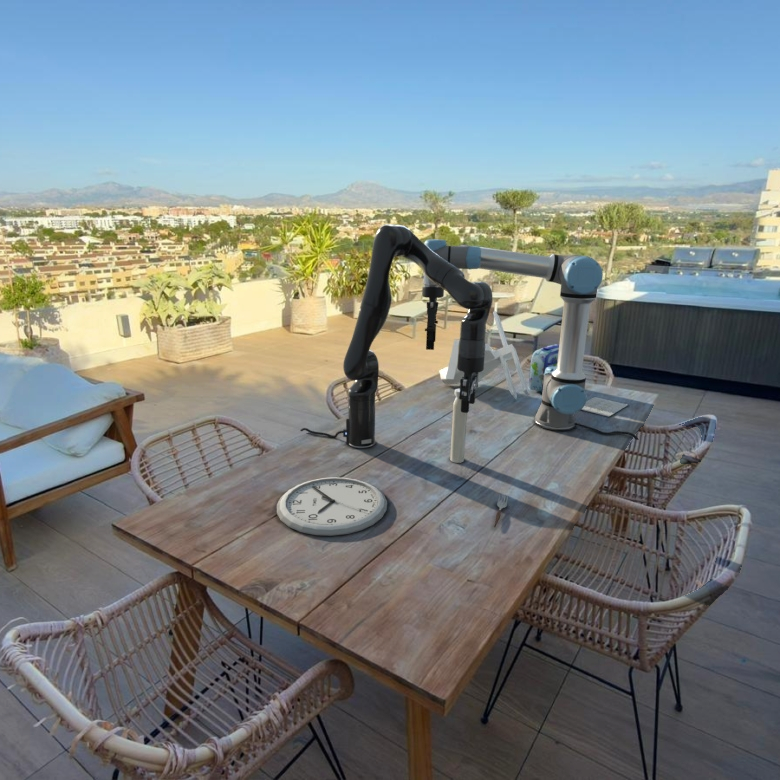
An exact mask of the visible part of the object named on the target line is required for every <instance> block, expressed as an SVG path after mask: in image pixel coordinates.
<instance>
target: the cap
mask: <svg viewBox="0 0 780 780" xmlns="http://www.w3.org/2000/svg"><path fill="white" fill-rule="evenodd" d="M459 395H460V388H455V389H454V396H455V397H456V396H458V397H459ZM466 395H467V393H464V396H466Z"/></svg>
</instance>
